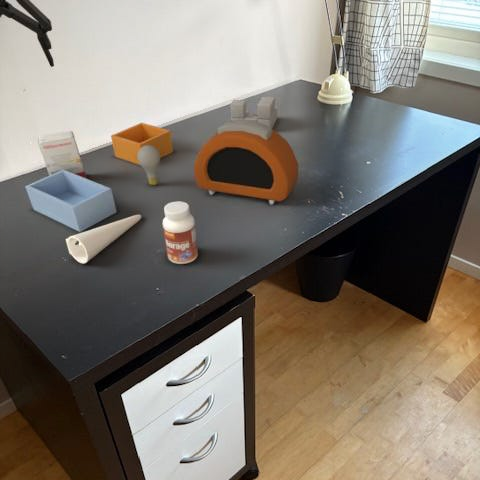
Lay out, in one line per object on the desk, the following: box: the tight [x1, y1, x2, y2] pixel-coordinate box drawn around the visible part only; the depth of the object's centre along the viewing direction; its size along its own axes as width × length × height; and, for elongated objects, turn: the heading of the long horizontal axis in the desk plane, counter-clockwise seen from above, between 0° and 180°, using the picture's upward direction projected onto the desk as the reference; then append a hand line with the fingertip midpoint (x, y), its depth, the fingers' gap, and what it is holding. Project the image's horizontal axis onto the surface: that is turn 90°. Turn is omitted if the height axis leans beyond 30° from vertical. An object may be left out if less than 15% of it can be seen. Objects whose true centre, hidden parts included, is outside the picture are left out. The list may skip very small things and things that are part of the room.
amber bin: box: [110, 122, 174, 166], centre depth 133 cm, size 12×12×6 cm
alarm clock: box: [193, 120, 299, 205], centre depth 110 cm, size 23×9×17 cm, turn 68°
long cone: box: [65, 214, 142, 264], centre depth 100 cm, size 6×6×19 cm
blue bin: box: [24, 170, 117, 233], centre depth 110 cm, size 18×11×6 cm, turn 52°
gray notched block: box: [230, 96, 278, 130], centre depth 146 cm, size 12×12×8 cm
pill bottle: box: [162, 200, 199, 265], centre depth 93 cm, size 6×6×11 cm
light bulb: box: [137, 145, 161, 186], centre depth 117 cm, size 5×6×10 cm
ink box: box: [37, 130, 87, 179], centre depth 120 cm, size 9×5×12 cm, turn 110°
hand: (22, 70), depth 107 cm, fingers open, 13 cm apart
